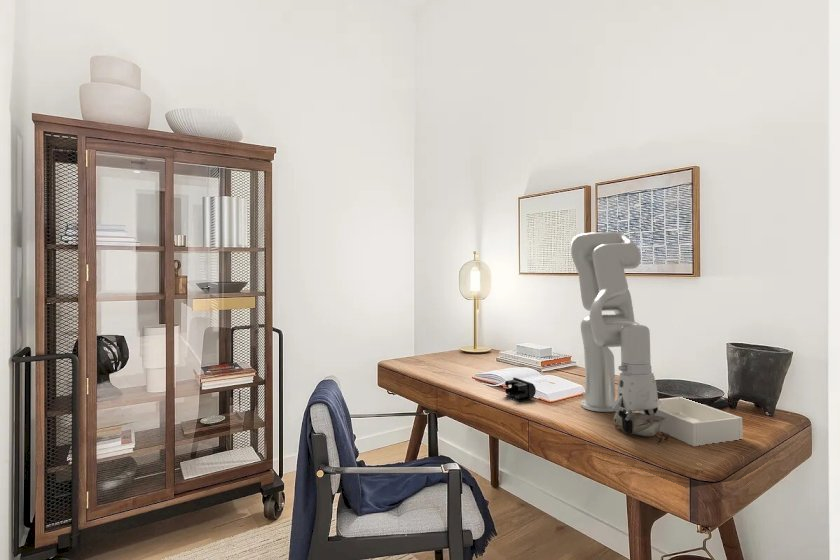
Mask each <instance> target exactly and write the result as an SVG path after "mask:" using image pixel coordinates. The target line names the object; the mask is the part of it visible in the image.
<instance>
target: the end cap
mask: <svg viewBox="0 0 840 560" xmlns="http://www.w3.org/2000/svg"><path fill="white" fill-rule="evenodd" d="M504 386H511V387H508V388H505V389H504V390H505V394H506V395H505V397H506V396H508V397H510V398H512V399H511V400H513V399H514V400H513V401H515V400H516V402H517V401H518V403H523V402H524V401H525V402H528V401H531V400H532V399H533V398H534V397H535V395H536V392H537V391H536V385H534V384H533V383H532V382H530V381H526V380H523V379H521V378H518V377H513V378H512V379H510V380H505V381H504ZM508 397H507V398H508ZM510 398H509V399H510Z"/></svg>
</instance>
